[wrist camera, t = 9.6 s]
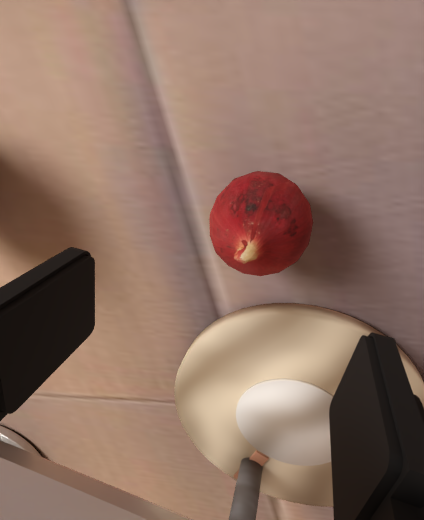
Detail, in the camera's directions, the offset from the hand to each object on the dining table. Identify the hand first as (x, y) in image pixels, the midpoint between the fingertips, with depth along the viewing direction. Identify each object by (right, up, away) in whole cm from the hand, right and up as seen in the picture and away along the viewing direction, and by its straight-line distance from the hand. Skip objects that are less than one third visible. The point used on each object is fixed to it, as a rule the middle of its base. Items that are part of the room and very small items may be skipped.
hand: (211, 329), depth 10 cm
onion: (+4, +6, +12) cm, 14 cm away
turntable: (+7, -10, +18) cm, 22 cm away
